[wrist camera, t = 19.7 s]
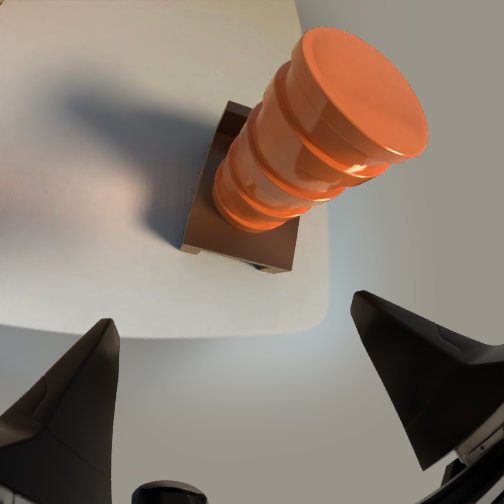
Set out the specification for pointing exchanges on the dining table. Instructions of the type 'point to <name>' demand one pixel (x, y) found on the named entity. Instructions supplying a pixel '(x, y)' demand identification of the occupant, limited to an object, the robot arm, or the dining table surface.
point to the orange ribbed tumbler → (318, 132)
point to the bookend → (222, 232)
